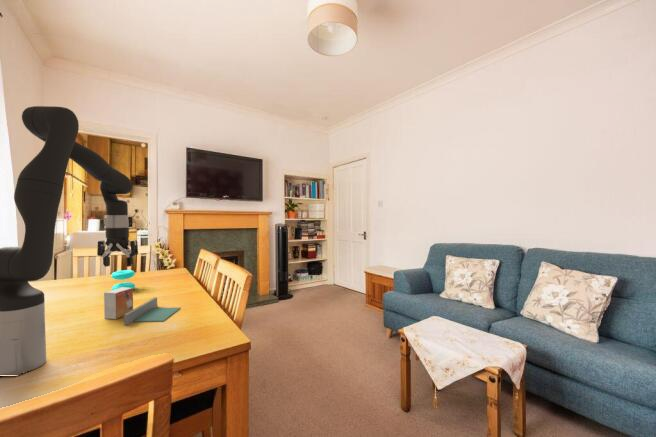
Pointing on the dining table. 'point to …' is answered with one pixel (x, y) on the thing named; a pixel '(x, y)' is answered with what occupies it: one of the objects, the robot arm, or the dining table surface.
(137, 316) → the divider wall
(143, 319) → the mat
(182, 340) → the dining table surface
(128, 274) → the donuts
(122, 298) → the small box
